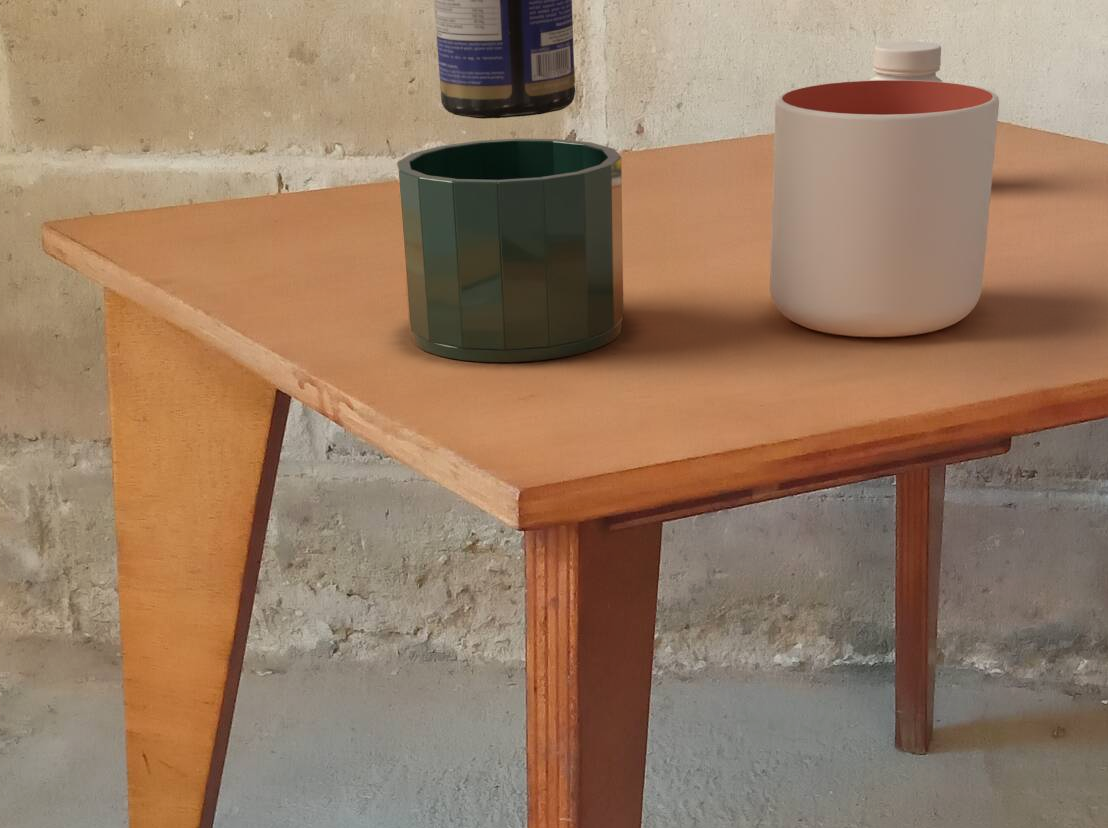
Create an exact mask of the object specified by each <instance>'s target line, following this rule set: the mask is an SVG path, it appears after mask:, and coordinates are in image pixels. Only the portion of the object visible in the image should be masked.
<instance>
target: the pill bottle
mask: <svg viewBox="0 0 1108 828" xmlns="http://www.w3.org/2000/svg"><path fill="white" fill-rule="evenodd" d="M433 4H434V5H433V6H434V19H435V34H436V47H437V60H438V61H437V62H438V75H439V84H440V85H439V87H440V98H441V99H440V100H441V104H442V107H443V108H444V109H445V110H446V111H447V112H448V113H450V114H453V115H454V116H460V117H465V118H473V119H482V120H483V119H501V118H502V119H505V118H506V119H507V118H516V117H519V118H520V117H530V116H537V115H544V114H548V113H553V112H558V111H561V110H565V109H566V108H568V107H569V106H570V105H571V104H572V103H573V102H574V99H575V95H576V86H575V85H576V84H575V83H576V76H575V75H576V74H575V71H576V70H575V52H574V23H573V0H433Z"/></svg>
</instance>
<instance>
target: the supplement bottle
mask: <svg viewBox="0 0 1108 828" xmlns="http://www.w3.org/2000/svg"><path fill="white" fill-rule="evenodd" d="M941 61H942V45H941V44H938V43H933V42H926V41H925V42H924V41H893V42H885V43H879V44H877V45H875V46H874V49H873V60H872V71H873V72H874V73H875V76H873V77H872V78H870V79H869V80H917V81H936V82H943V80H942V79H941V78H940V77H938V76H937V75H936V73H938V72H939V71H941V64H942V63H941Z"/></svg>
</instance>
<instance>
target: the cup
mask: <svg viewBox="0 0 1108 828" xmlns="http://www.w3.org/2000/svg"><path fill="white" fill-rule="evenodd" d="M774 103H775V104H774V132H773V134H774V137H773V164H772V165H773V167H772V168H773V169H772V170H773V171H772V199H771V200H772V201H771V230H770V231H771V235H770V236H771V237H770V262H769V263H770V264H769V265H770V266H769V270H770V271H769V292H770V296H771V299H772V302H773V303H774V305H775V307H776V308H777V309H778V311H779V312H780V314H782V315H783V317H786V318H787V319H788V320H789V321H790V322H793V323H795V324H797V325H800V326H802V327H804V328H807V329H810V330H813V331H817V332H820V333H825V334H831V335H836V336H837V335H838V336H846V337H857V338H858V337H860V338H895V337H906V336H907V337H908V336H916V335H922V334H927V333H928V334H929V333H932V332H936V331H939V330H942V329H946V328H948V327H950V326H953V325H955V324H956V323H958V322H960V321H961V320H963V319H965V318H966V317H967V316H968V315H969V314H970V313H971V312H972V311H973V310H974V309H975V307H976V306H977V304H978V302H979V300H980V298H981V295H982V290H983V280H984V271H985V260H986V259H985V258H986V249H987V240H988V239H987V238H988V227H989V215H990V207H991V206H990V205H991V194H992V184H993V174H994V163H995V152H996V151H995V150H996V141H997V131H998V129H997V128H998V120H999V109H1000V98H999V96H998V95H997V94H996V93H995V92H993V91H991V90H990V89H986V88H982V87H978V86H975V85H970V84H962V83H957V82H956V83H955V82H948V81H947V82H946V81H942V82H936V81H917V80H870V79H868V80H851V81H838V82H828V83H821V84H814V85H813V84H812V85H807V86H802V87H799V88H794V89H790V90H788V91H786V92H783V93H782V94H780V95H778V96H777V97H776V99H775V102H774Z"/></svg>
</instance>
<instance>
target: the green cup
mask: <svg viewBox="0 0 1108 828" xmlns="http://www.w3.org/2000/svg"><path fill="white" fill-rule="evenodd" d="M396 171H397V183H398V199H399V210H400V223H401V226H400V227H401V236H402V238H401V239H402V249H403V250H402V251H403V263H404V265H403V266H404V276H405V277H404V278H405V288H406V289H405V290H406V304H407V315H408V324H409V333H410V339H411V342H412V343H413V344H414V345H415V346H416V347H418V348H419V349H421V350H423V351H424V352H427V353H430V354H433V355H436V356H439V357H443V358H446V359H447V358H448V359H452V360H453V359H454V360H460V361H468V362H479V363H523V362H525V363H526V362H527V363H528V362H537V361H548V360H554V359H559V358H561V359H562V358H566V357H571V356H575V355H579V354H583V353H586V352H590V351H593V350H596V349H598V348H601V347H603V346H605V345H607V344H609V343H611V342H612V341H615V340H616V339H617V338H618V337H619V335H620V334H621V332H622V327H623V322H622V321H623V318H624V256H623V255H624V254H623V253H624V252H623V251H624V250H623V246H624V245H623V184H622V183H623V181H622V179H623V177H622V176H623V175H622V174H623V173H622V171H623V169H622V156H621V155H620V154H619V152H618V151H617V150H616V149H615V148H612V147H609V146H605V145H603V144H598V143H594V142H591V141H582V140H581V141H580V140H571V139H564V138H563V139H562V138H502V139H501V138H500V139H486V140H485V139H483V140H474V141H467V142H460V143H452V144H445V145H444V144H443V145H439V146H435V147H431V148H428V149H427V148H426V149H424V150H419V151H416V152H412V153H410V154H409V155H407V156H405V157H403V158H401V159H400V160H398V161H397V162H396Z"/></svg>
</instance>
